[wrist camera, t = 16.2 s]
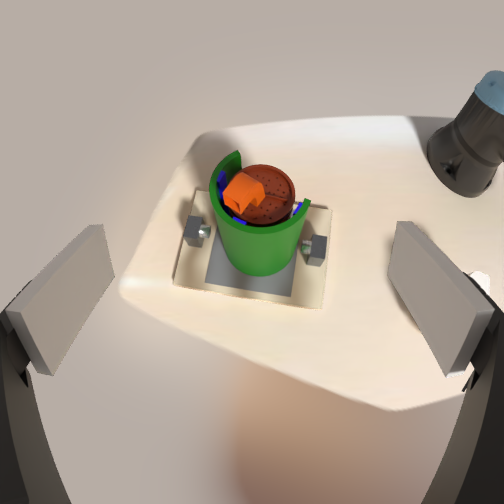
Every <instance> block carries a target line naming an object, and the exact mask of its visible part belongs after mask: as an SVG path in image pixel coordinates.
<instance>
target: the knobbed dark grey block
mask: <svg viewBox="0 0 504 504" xmlns="http://www.w3.org/2000/svg"><path fill="white" fill-rule="evenodd" d="M210 234H211V225H205V222H204V220H203V217H198V216H191V215H189V216H188V220H187V223H186V227H185V231H184V235H183V238H184V239H185V241H186V242H187V244H188V246H192V247H198V248H202V246H203V242H204V238H209V237H210Z"/></svg>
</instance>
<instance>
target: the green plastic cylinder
mask: <svg viewBox="0 0 504 504" xmlns="http://www.w3.org/2000/svg"><path fill="white" fill-rule="evenodd" d="M209 194H210V199H211V203H212V207H213V210H214V214H215V217H216V221H217V224H218V228H219V231H220V235H221V238H222V242H223V245H224V249H225V252H226V255H227V257H228V259H229V261H230V262H231V264H232V265H233V266H234V267H235V268H236V269H238V270H239V271H241V272H242V273H245V274H247V275H250V276H256V277H264V276H270V275H273V274H275V273H277V272H279V271H281V270H282V269H283V268H284V267H286V266H287V264H288V263H289V262H290V260H291V259H292V257H293V254H294V251H295V248H296V245H297V242H298V239H299V236H300V233H301V230H302V227H303V224H304V221H305V218H306V215H307V212H308V209H309V206H310V202H311V200H308V199H306V198H305V199H304V202H303V203H301V202H300V203H299V204H298V206H297V208H296V209H295V211H294V212H293V216H292V217H291V214H292V210H293V205H294V201H295V188H294V185H293V183H292V181H291V179H290V178H289V177H288V176H287V175H286V174H285V173H284V172H283V171H281V170H280V169H278V168H276V167H273V166H270V165H262V164H259V165H252V166H248V167H246V168H243V169H242V167H241V154H240V153H239V151H238V150H237V151H235V152H233V153H231V154H229V155H228V156H227V157H225V158H224V159H223V160H222V161H221V162H220V163H219V164H218V166H217V167H216V168H215V170H214V172H213V174H212V177H211V180H210V185H209Z"/></svg>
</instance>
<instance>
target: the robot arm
mask: <svg viewBox="0 0 504 504" xmlns="http://www.w3.org/2000/svg"><path fill="white" fill-rule="evenodd" d="M427 154H428V159H429V162H430V164H431V167H432V169H433V170H434V172H435V174H436V175H437V176H438V178H439V179H440V180H441V181H442V182H443V183H444V184H445V185H446V186H447V187H448V188H449V189H451V190H452V191H453V192H455V193H457V194H459V195H461V196H464V197H469V198H473V197H478V196H480V195H481V194H482V193H483V192H484V191H486V190H487V189H488V187H489V186H490V184H491V182H492V179H493V177H494V175H495V173H496V170H497V168H498V166H499V165H500V164H501V163H502V162H504V72H502V71H490V72H488V73H487V74H486V75H485V76H484V77H483V79H482V80H481V81H480V83H478V84H477V85H476V86H475V90H474V92H473V93H472V95H471V96H470V98H469V99H468V101H467V103H466V104H465V105H464V107H463V108H462V110H461V111H460V113H459V114H458V115H457V117H456V118H455V120H454V121H452V122H451V123H449V124H448V125H446V126H445V127H442V128H440V129H438V130H437V131H436V132H435V133H434V134H433V136H432V137H431V139H430V140H429V142H428V145H427ZM387 276H388V277H389V279H390V280H391V282H392V283H393V285H394V287H395V288H396V290H397V292H398V293H399V295H400V297H401V298H402V300H403V301H404V303H405V305H406V307H407V308H408V310H409V312H410V313H411V315H412V317H413V318H414V320H415V322H416V324H417V325H418V327H419V329H420V331H421V332H422V334H423V336H424V338H425V340H426V341H427V343H428V345H429V347H430V349H431V351H432V352H433V354H434V356H435V358H436V360H437V362H438V364H439V366H440V368H441V369H442V371H443V373H444V375H445V377H446V378H448V377H453V376H457V375H462V374H463V373H464V371H465V370H466V368H467V366H468V364H469V362H471V363H472V365H473V367H474V368H475V369H474V371H473V372H472V374H471V376H470V378H469V379H468V381H467V383H466V384H465V386H464V388H463V389H462V391H463V392H464V391H465V390H466V388H467V390H466V394H465V397H464V401H463V404H462V407H461V410H460V413H459V417H458V419H457V422H456V425H455V428H454V430H453V433H452V436H451V439H450V441H449V444H448V446H447V449H446V452H445V454H444V456H443V458H442V461H441V463H440V466H439V468H438V470H437V472H436V474H435V477H434V479H433V481H432V483H431V485H430V487H429V490H428V491H427V493H426V495H425V497H424V499H423V501H422V503H421V504H504V313H503V312H502V310H501V309H500V308H499V307H498V306H497V304H496V303H495V302H494V301H493V300H492V299H491V298H490V296H489V295H488V294H486V292H485V291H484V290H483V289H482V288H481V286H480V285H479V284H478V283H477V282H476V281H475V280H474V279H473V278H472V277H470V276H469V275H467V274H466V273H464V272H462V271H461V270H460V269H459V268H458V267H457V266H456V265H455V264H454V263H453V262H452V261H451V260H450V259H449V258H448V257H447V256H446V255H445V254H444V253H443V252H442V251H441V250H440V248H439V247H438V246H437V245H436V244H435V243H433V242H432V241H431V240H430V239H429V238H428V237H427V236H426V235H425V234H424V233H423V232H422V231H421V230H420V229H419V228H418V227H417V226H416V225H415V224H414V223H413V222H406V221H397V226H396V232H395V238H394V243H393V249H392V254H391V259H390V264H389V269H388V274H387ZM114 277H115V276H114V272H113V268H112V263H111V259H110V255H109V251H108V246H107V241H106V237H105V232H104V227H103V224H102V225H89V226H88V227H87V228H85V229H84V230H83V231H82V232H81V233H80V234H79V235H78V236H77V237H76V238H75V239H73V241H71V242H70V243H69V244H68V245H67V246H66V247H65V248H64V249H63V250H62V251H61V252H60V253H59V254H58V255H57V256H56V257H55V258H54V259H53V260H52V261H51V262H50V263H49V264H48V265H47V266H46V267H45V268H44V269H43V270H42V271H41V272H40V273H39V274H38V275H37V276H36V277H35V278H34V279H33V280H31V281H30V282H28V284H27V285H26V286H25V287H24V288H23V289H22V291H20V292H19V293H18V294H17V296H16V297H15V298H14V299H13V300H12V301H11V302H10V303H9V304H8V305H7V306H6V308H5V309H4V310H3V311H2V312H1V313H0V504H71V502H70V500H69V498H68V495H67V493H66V490H65V488H64V485H63V483H62V481H61V478H60V476H59V473H58V470H57V468H56V465H55V462H54V459H53V457H52V454H51V451H50V448H49V445H48V442H47V438H46V435H45V432H44V429H43V425H42V422H41V419H40V414H39V411H38V407H37V403H36V399H35V394H34V390H33V385H32V381H31V376H30V373H29V371H28V370H27V368H26V367H27V365H28V364H29V362H30V361H31V362H32V364H33V366H34V368H35V369H36V371H37V373H41V374H45V375H50V376H54V374H55V372H56V370H57V368H58V367H59V365H60V363H61V361H62V360H63V358H64V356H65V355H66V353H67V351H68V349H69V348H70V346H71V344H72V343H73V341H74V339H75V338H76V336H77V334H78V332H79V331H80V330H81V328H82V326H83V324H84V323H85V321H86V320H87V318H88V317H89V315H90V314H91V312H92V311H93V309H94V307H95V306H96V304H97V303H98V301H99V300H100V298H101V297H102V295H103V294H104V292H105V291H106V289H107V288H108V286H109V285H110V283H111V282H112V280H113V279H114Z"/></svg>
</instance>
